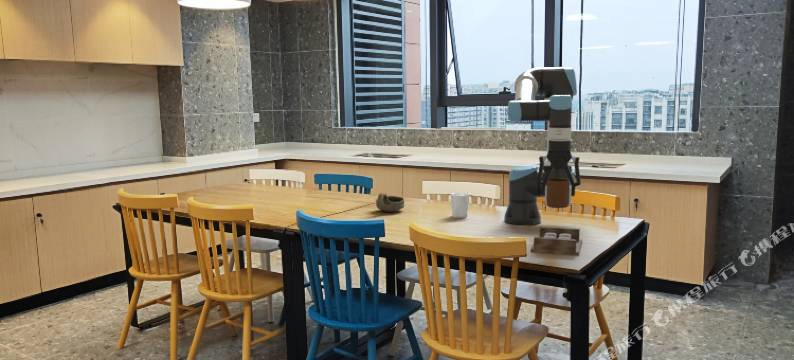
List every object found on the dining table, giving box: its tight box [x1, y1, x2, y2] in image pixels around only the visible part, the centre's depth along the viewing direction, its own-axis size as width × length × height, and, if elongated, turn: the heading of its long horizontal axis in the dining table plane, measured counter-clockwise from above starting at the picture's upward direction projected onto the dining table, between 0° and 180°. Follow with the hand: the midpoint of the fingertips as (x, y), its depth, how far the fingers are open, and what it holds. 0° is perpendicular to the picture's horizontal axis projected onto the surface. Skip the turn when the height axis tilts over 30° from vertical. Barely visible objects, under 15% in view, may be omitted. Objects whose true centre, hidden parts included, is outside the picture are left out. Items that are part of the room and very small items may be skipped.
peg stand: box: [530, 226, 583, 256], centre depth 225 cm, size 16×19×5 cm
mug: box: [546, 178, 569, 209], centre depth 222 cm, size 12×8×9 cm, turn 152°
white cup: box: [450, 192, 470, 219], centre depth 280 cm, size 8×8×10 cm
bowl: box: [374, 192, 405, 213], centre depth 292 cm, size 14×18×10 cm
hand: (558, 204), depth 223 cm, fingers closed on mug, 7 cm apart
